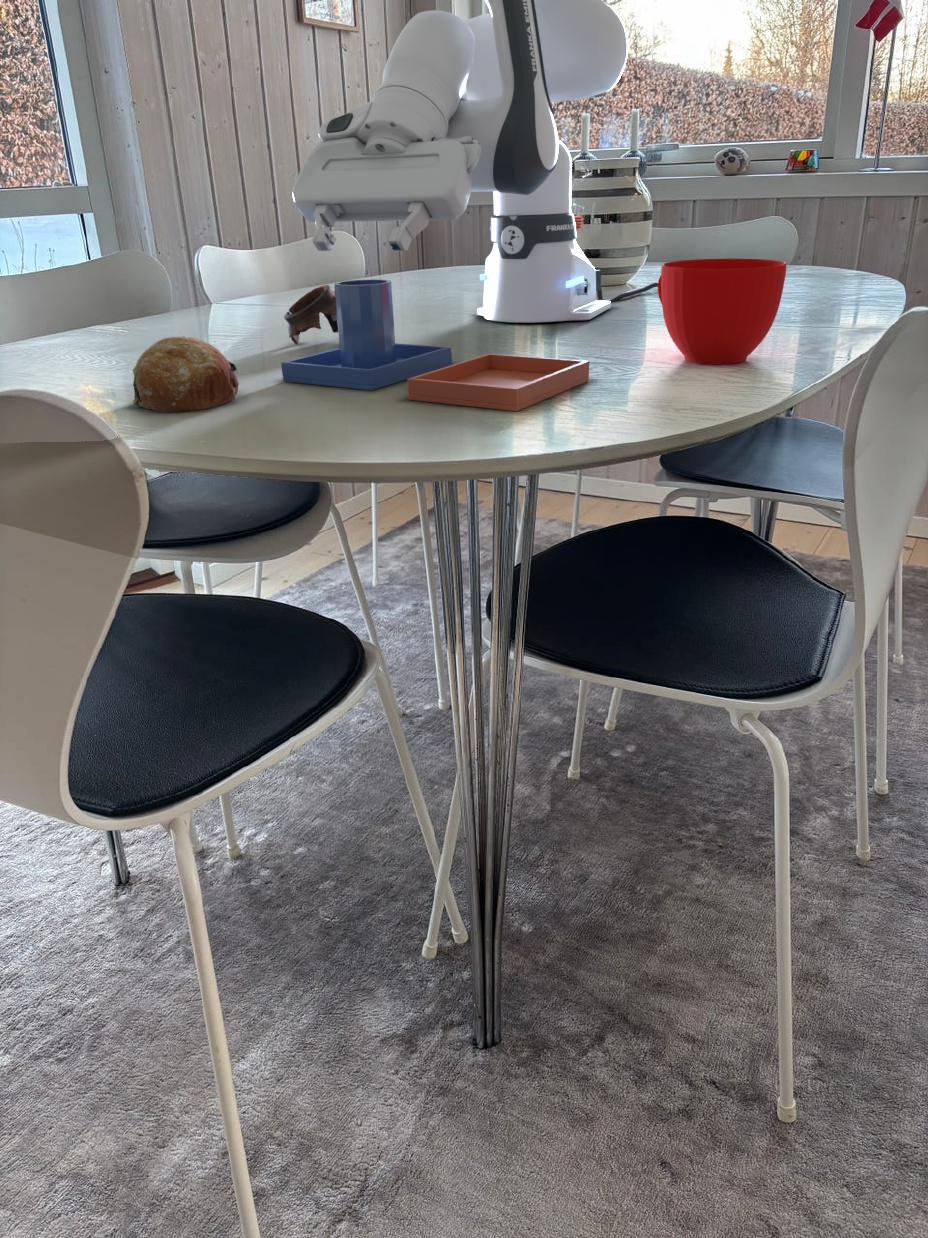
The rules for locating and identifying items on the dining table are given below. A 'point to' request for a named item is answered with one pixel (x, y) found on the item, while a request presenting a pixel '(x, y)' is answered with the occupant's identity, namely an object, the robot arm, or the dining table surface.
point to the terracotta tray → (499, 381)
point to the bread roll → (183, 376)
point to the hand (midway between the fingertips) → (358, 246)
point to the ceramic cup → (720, 306)
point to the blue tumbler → (365, 323)
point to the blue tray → (330, 372)
